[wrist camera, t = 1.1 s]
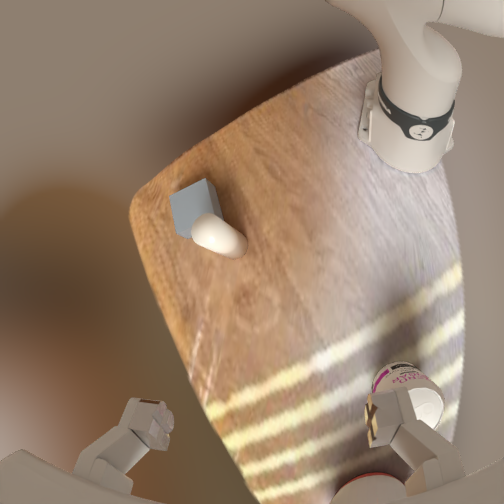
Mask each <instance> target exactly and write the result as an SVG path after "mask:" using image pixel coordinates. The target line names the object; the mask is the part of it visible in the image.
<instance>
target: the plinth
mask: <svg viewBox="0 0 504 504" xmlns="http://www.w3.org/2000/svg"><path fill="white" fill-rule="evenodd" d="M169 197H170V203H171V209H172V214H173V219H174V225H175V230H176V234H178V235H180V236H182V237H184V238H187V239H189V238H191V237H192V235H191V229H192V225H193V223H194V221H195V220H196V219H197V218H198V217H199V216H201V215H202V214H205V213H212V214H214V215H216V216H217V217H219V218H220V219H222V220H223V221H224V219H223V215H222V211H221V207H220V204H219V200H218V196H217V193H216V189H215V186H214V185H213V184H212V183H210V182H209V181H208V180H207V179H206V178H204V179H202V180H200V181H198V182H196V183H194V184H192V185H190V186H188V187H186V188H184V189H182V190H180V191H178V192H176V193H174V194H172V195H170V196H169Z"/></svg>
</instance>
